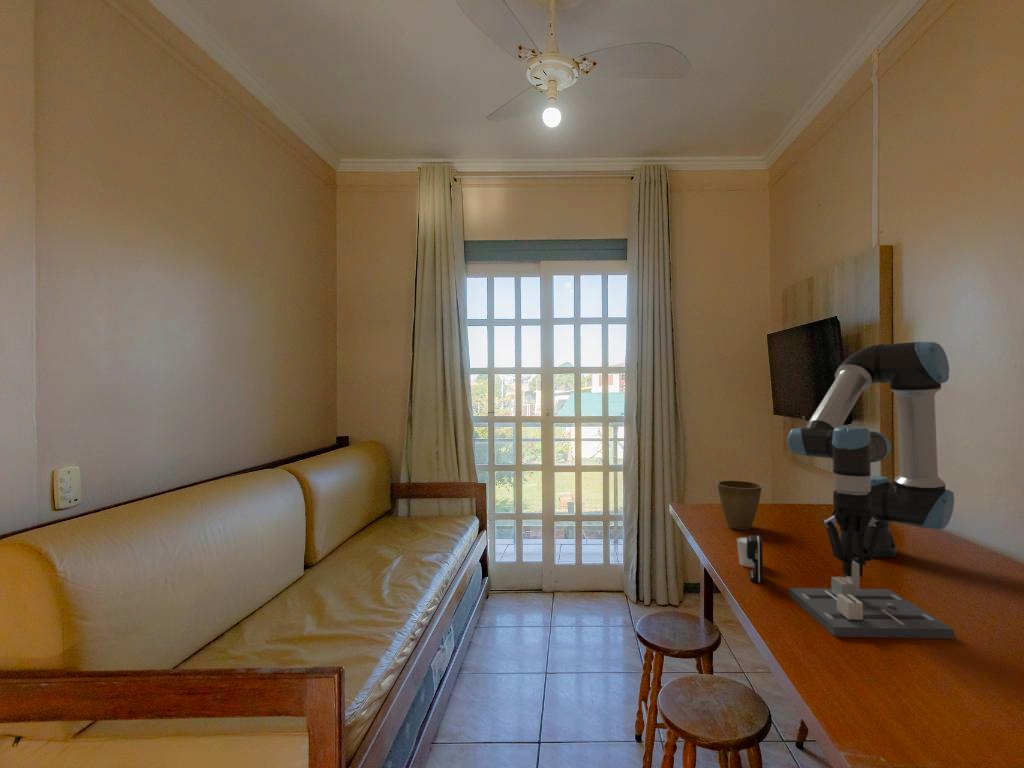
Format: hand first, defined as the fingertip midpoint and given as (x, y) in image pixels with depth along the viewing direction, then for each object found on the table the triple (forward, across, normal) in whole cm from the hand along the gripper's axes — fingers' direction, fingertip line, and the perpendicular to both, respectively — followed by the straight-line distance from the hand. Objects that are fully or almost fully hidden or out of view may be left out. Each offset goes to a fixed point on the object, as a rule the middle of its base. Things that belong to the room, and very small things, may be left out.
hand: (852, 589), depth 120 cm
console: (+4, 0, +5) cm, 6 cm away
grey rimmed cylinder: (+4, +13, -27) cm, 31 cm away
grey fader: (+2, +2, 0) cm, 3 cm away
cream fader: (+2, +7, +10) cm, 12 cm away
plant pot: (+4, +2, -64) cm, 64 cm away
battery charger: (+4, +16, -16) cm, 23 cm away
